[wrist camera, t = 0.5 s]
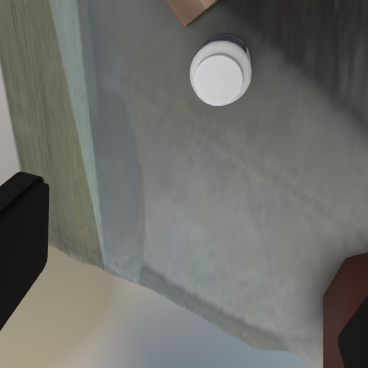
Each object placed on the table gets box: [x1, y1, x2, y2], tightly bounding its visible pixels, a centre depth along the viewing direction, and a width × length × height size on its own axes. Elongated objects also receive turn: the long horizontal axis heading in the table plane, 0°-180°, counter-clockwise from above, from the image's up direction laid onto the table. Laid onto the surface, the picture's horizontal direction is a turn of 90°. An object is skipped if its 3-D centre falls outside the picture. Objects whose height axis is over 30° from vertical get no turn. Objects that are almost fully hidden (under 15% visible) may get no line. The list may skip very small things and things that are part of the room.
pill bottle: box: [190, 34, 252, 106], centre depth 30 cm, size 5×5×10 cm
